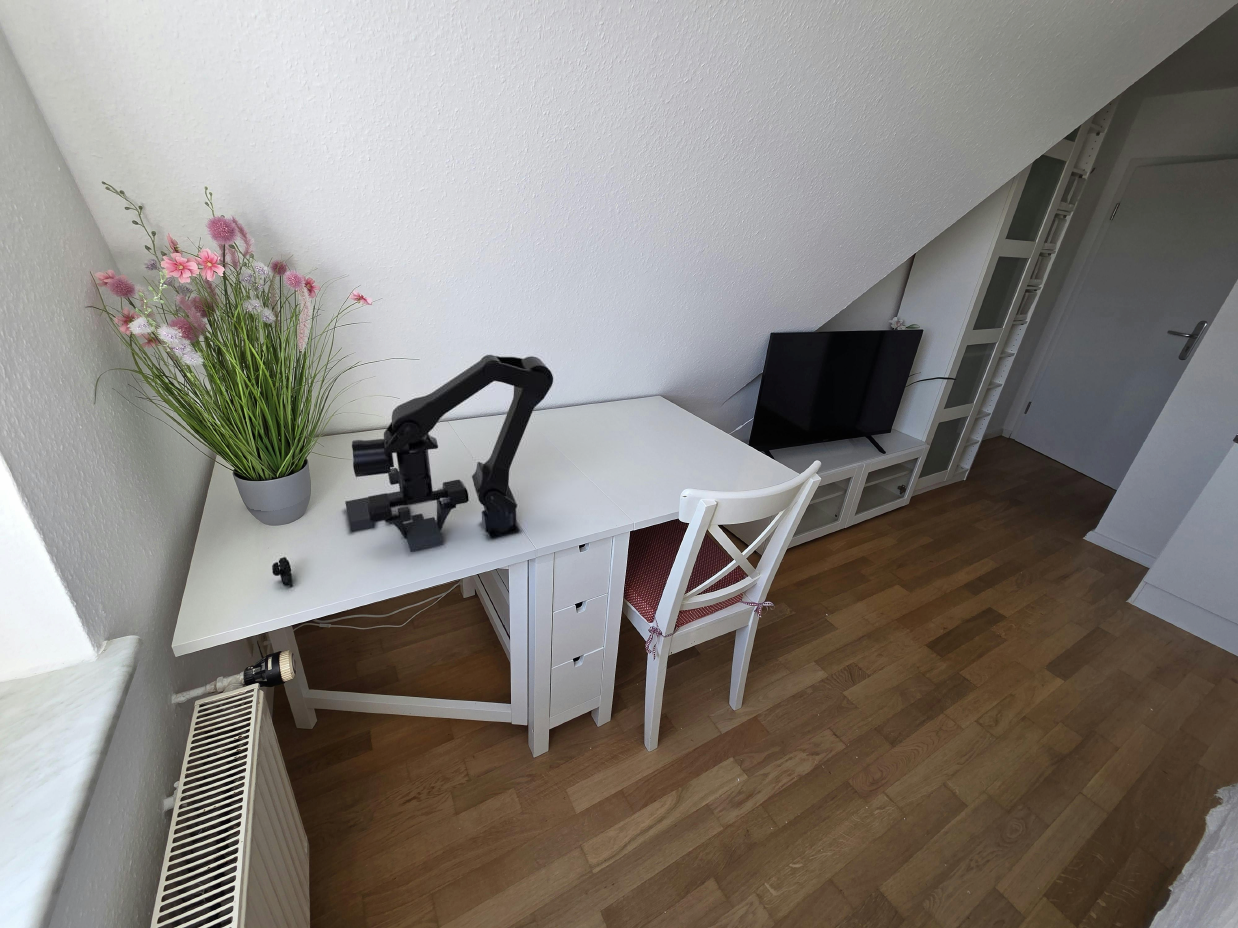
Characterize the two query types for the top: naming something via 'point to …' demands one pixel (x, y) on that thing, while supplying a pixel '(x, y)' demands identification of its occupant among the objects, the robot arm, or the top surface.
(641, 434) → the top surface
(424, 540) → the tab pad
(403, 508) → the notch pad
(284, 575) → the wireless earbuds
